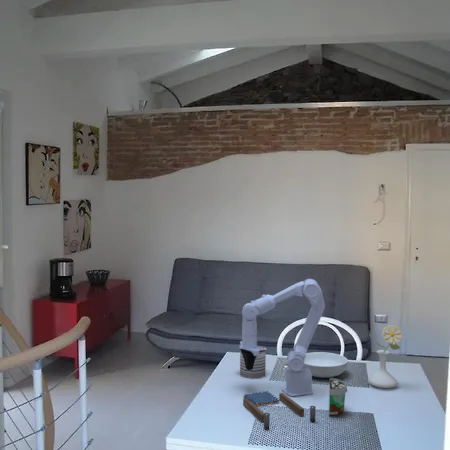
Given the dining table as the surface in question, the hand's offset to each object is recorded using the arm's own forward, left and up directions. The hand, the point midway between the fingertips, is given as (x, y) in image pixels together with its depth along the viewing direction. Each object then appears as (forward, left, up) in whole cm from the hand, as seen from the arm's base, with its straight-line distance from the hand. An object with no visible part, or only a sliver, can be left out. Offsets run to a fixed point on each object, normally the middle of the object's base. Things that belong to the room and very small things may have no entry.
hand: (249, 369), depth 205 cm
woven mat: (0, +11, -9) cm, 14 cm away
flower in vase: (-53, +14, -9) cm, 55 cm away
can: (-9, -17, -9) cm, 21 cm away
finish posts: (0, +34, -8) cm, 35 cm away
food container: (-21, +30, -9) cm, 38 cm away
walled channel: (0, +21, -8) cm, 23 cm away
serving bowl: (-37, -7, -9) cm, 39 cm away
